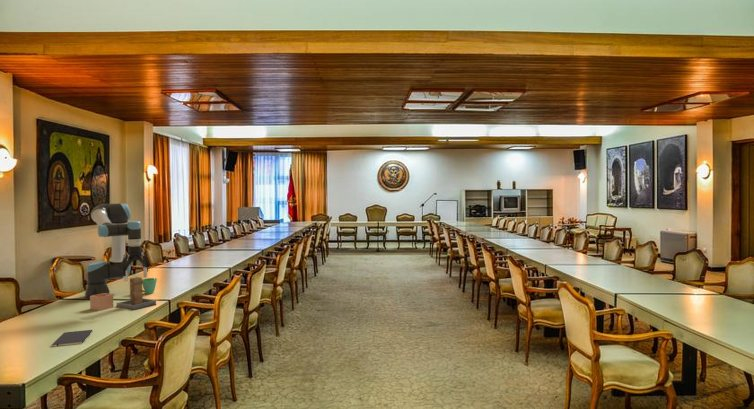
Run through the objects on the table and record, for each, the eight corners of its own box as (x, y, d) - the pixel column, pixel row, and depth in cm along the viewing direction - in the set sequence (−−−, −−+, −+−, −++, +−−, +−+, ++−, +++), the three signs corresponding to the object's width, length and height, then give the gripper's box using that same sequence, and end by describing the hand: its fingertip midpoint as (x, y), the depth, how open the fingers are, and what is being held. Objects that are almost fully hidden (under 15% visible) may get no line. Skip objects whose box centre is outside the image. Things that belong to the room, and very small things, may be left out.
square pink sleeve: (90, 310, 298) (89, 295, 298) (104, 307, 306) (104, 293, 306) (99, 312, 294) (98, 297, 294) (113, 308, 302) (113, 294, 302)
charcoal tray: (116, 307, 304) (116, 303, 304) (140, 302, 318) (139, 297, 318) (132, 310, 297) (132, 305, 296) (156, 305, 311) (155, 300, 310)
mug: (158, 291, 353) (158, 277, 352) (155, 294, 343) (154, 280, 343) (137, 292, 350) (136, 278, 350) (132, 295, 340) (132, 281, 340)
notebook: (82, 344, 233) (92, 332, 254) (82, 341, 233) (92, 329, 254) (51, 347, 229) (64, 335, 249) (51, 344, 229) (64, 332, 249)
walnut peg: (130, 305, 306) (129, 278, 306) (137, 303, 311) (136, 277, 310) (135, 306, 304) (134, 279, 304) (142, 304, 308) (141, 277, 308)
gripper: (119, 248, 293) (120, 283, 294) (156, 243, 315) (157, 276, 316) (112, 247, 297) (113, 282, 298) (148, 243, 319) (149, 275, 320)
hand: (135, 279), depth 307 cm, fingers open, 13 cm apart
